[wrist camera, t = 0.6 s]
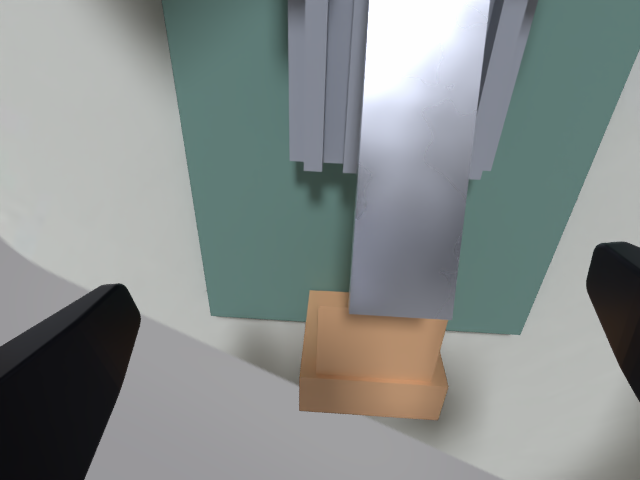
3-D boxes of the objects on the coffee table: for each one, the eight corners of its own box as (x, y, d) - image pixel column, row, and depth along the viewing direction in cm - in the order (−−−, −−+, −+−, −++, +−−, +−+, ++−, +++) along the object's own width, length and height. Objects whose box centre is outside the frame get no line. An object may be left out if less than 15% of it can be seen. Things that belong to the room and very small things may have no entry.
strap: (498, -185, 10) (522, -237, 9) (442, 306, 13) (454, 324, 12) (380, -188, 11) (386, -239, 9) (348, 301, 13) (349, 317, 12)
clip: (440, 235, 20) (469, 318, 15) (419, 328, 24) (437, 420, 19) (311, 228, 21) (299, 308, 16) (309, 321, 24) (299, 410, 19)
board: (738, -241, 12) (1014, -391, 7) (514, 322, 25) (556, 412, 20) (134, -253, 13) (-5, -399, 8) (215, 304, 25) (182, 387, 20)
